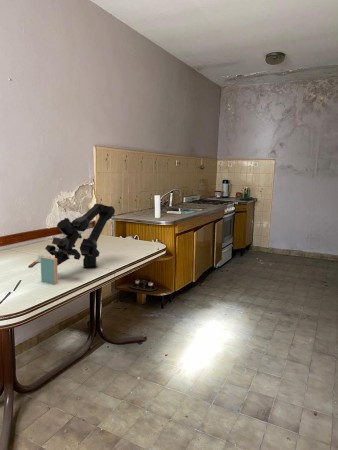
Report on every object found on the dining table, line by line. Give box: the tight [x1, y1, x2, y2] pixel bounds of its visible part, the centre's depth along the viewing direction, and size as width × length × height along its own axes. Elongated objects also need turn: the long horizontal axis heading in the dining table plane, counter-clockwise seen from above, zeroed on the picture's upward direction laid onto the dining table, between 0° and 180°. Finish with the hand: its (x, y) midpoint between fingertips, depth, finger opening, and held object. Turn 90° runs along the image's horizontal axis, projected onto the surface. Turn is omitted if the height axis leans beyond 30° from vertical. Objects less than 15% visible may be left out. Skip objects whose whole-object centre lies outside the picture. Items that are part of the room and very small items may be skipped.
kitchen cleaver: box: [28, 255, 52, 269], centre depth 190 cm, size 24×1×10 cm
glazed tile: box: [40, 255, 59, 285], centre depth 154 cm, size 2×8×12 cm, turn 64°
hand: (54, 266), depth 157 cm, fingers closed
